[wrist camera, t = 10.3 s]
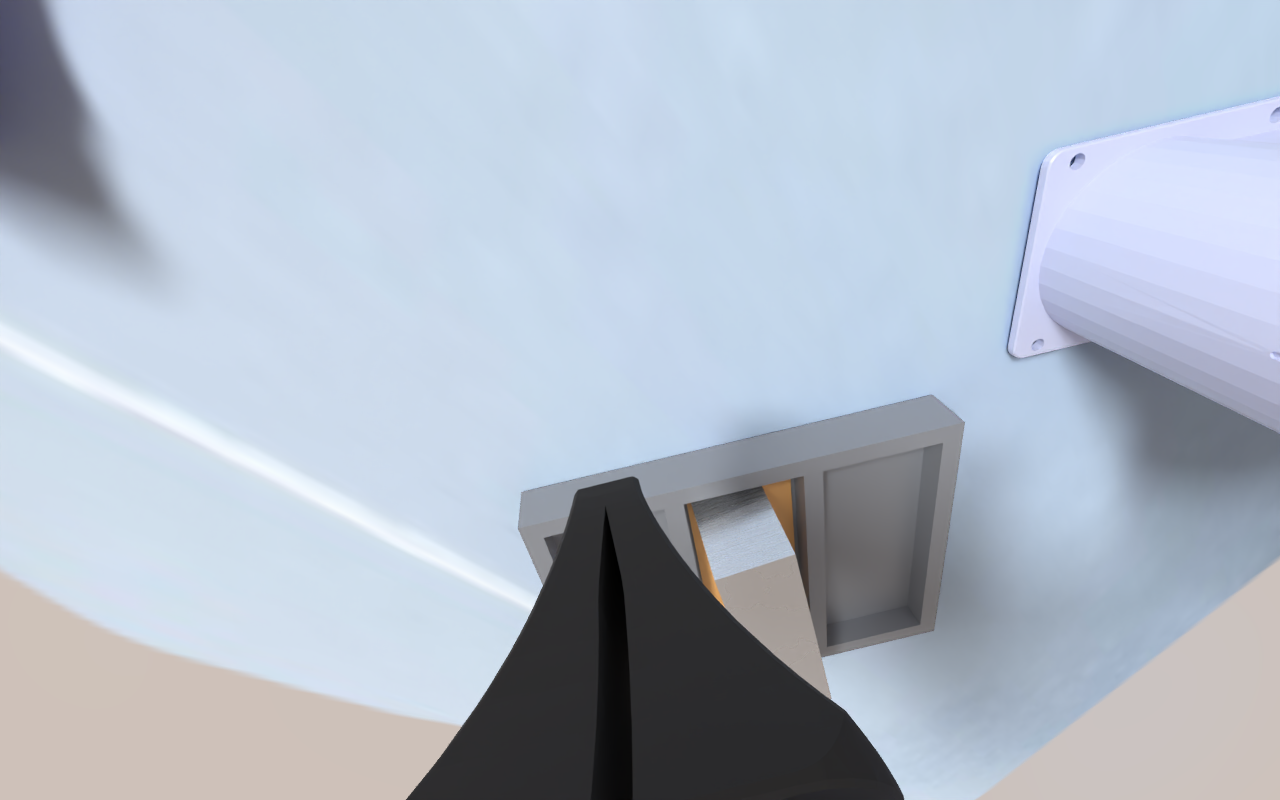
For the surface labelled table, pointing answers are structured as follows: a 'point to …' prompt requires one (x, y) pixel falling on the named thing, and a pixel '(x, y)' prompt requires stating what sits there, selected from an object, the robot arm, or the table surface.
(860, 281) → the table surface
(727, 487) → the bay rack
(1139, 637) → the table surface
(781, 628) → the light grey rectangular block
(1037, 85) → the table surface
